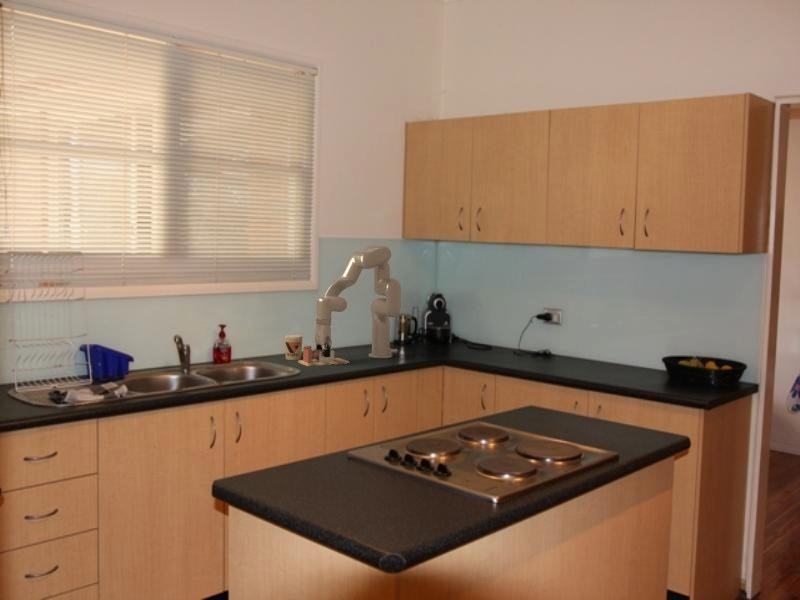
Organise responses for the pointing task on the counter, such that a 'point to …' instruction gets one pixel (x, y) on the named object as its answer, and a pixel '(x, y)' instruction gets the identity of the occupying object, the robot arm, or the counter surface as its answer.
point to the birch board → (315, 363)
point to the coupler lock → (321, 356)
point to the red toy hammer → (308, 354)
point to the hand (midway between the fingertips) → (323, 355)
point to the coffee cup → (293, 347)
